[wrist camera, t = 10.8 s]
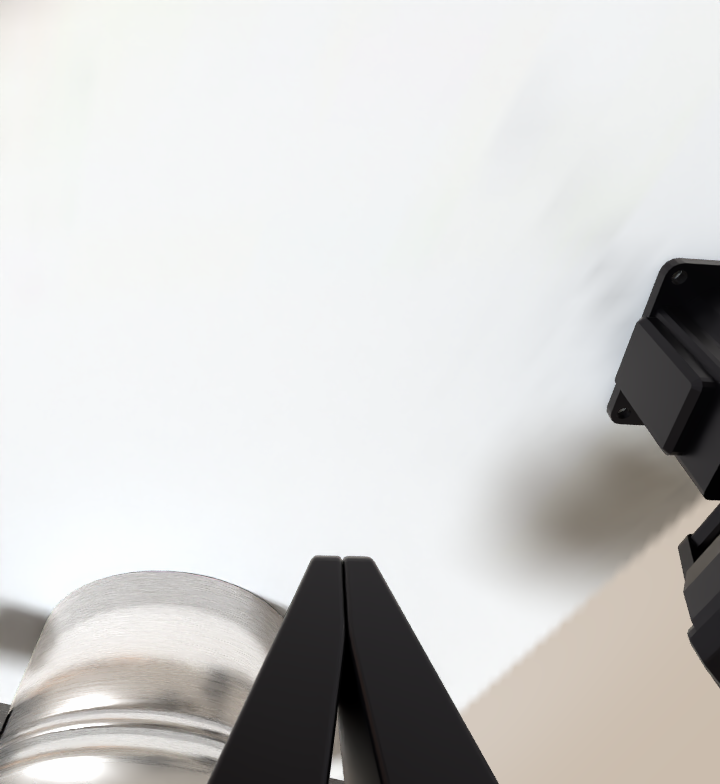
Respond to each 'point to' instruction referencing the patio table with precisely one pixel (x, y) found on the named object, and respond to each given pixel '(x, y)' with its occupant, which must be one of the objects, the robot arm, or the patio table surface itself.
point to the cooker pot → (144, 658)
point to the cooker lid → (110, 757)
